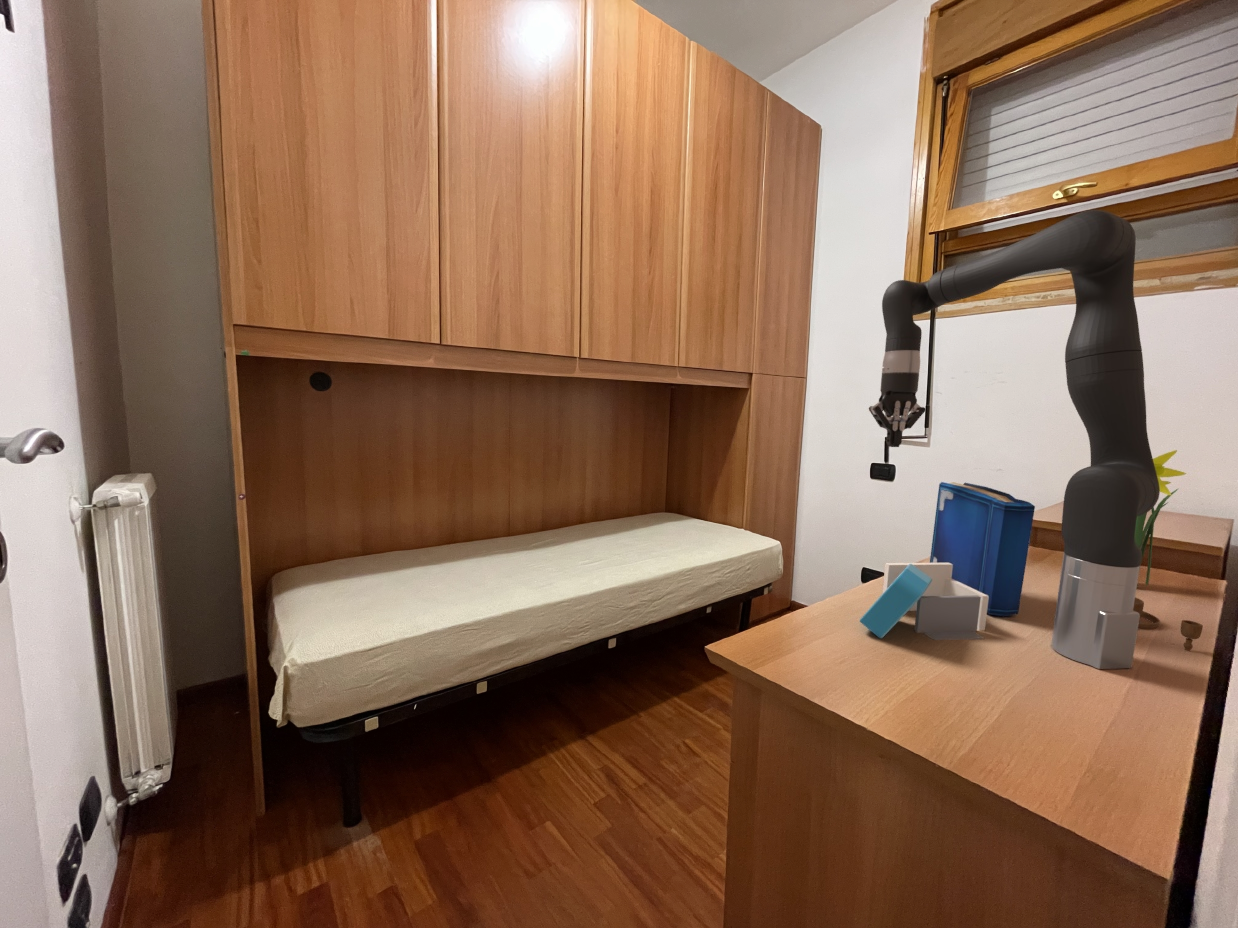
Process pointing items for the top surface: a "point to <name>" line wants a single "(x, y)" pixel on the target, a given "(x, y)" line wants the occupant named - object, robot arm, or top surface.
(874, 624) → the data package
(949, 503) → the book
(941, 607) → the shelf nook
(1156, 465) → the daffodil flowers
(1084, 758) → the top surface
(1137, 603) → the place setting
